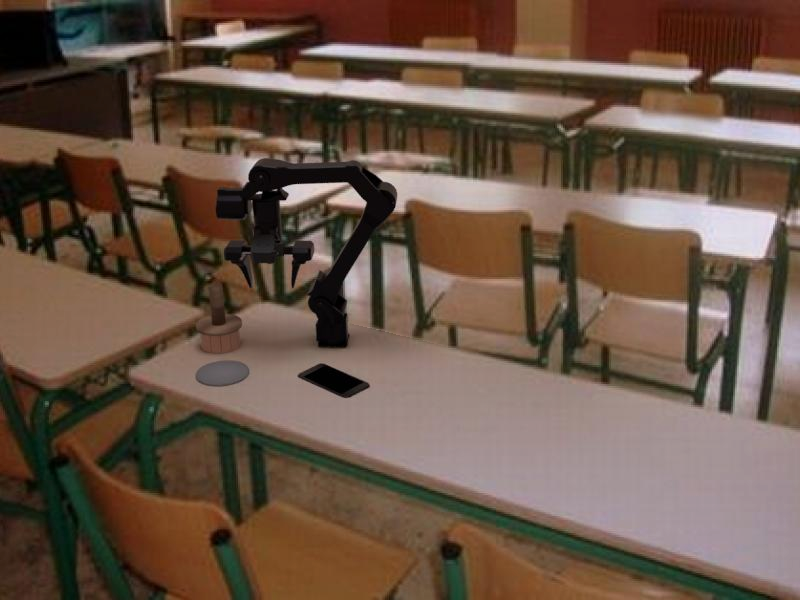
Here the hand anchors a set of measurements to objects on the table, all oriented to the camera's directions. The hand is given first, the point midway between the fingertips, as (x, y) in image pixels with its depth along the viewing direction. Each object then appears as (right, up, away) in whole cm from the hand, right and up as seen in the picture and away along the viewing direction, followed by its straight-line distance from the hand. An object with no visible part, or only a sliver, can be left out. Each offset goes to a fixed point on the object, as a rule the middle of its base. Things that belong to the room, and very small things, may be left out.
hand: (272, 287), depth 209 cm
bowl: (-12, -13, +4) cm, 18 cm away
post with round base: (-12, -9, +2) cm, 15 cm away
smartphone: (+14, -20, -13) cm, 28 cm away
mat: (-9, -18, -9) cm, 22 cm away
